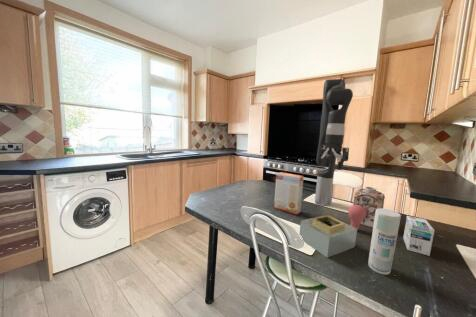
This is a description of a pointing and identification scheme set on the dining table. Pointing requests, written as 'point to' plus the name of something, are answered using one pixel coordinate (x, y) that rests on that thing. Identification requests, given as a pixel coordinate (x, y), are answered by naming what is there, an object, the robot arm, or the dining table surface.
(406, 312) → the dining table surface
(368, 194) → the decorative jar
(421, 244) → the light bulb box
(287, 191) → the cracker box
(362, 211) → the light bulb
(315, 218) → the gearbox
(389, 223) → the spray can
